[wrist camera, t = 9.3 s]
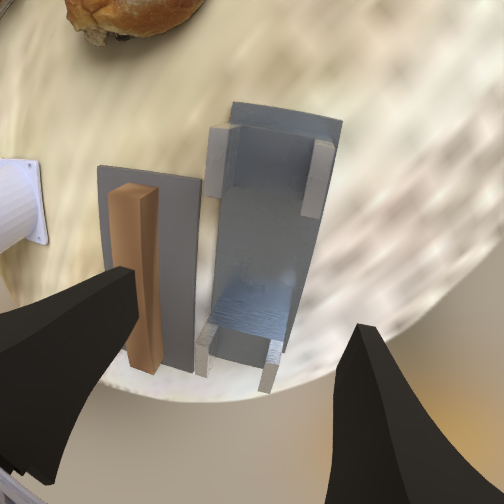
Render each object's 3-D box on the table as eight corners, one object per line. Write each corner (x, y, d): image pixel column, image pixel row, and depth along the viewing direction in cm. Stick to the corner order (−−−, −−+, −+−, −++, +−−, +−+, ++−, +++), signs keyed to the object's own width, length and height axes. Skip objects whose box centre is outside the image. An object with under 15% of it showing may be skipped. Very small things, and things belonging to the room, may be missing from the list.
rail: (141, 349, 27) (130, 366, 25) (128, 182, 19) (107, 193, 17) (164, 356, 27) (153, 375, 25) (158, 187, 19) (140, 198, 17)
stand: (211, 330, 24) (188, 380, 19) (235, 101, 16) (200, 102, 11) (285, 347, 23) (274, 403, 19) (342, 120, 15) (352, 127, 10)
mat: (120, 345, 28) (118, 347, 28) (100, 165, 19) (97, 166, 19) (193, 370, 27) (192, 373, 27) (202, 179, 19) (200, 180, 18)
